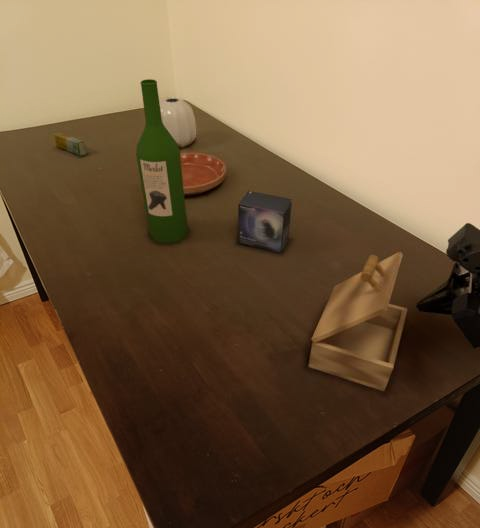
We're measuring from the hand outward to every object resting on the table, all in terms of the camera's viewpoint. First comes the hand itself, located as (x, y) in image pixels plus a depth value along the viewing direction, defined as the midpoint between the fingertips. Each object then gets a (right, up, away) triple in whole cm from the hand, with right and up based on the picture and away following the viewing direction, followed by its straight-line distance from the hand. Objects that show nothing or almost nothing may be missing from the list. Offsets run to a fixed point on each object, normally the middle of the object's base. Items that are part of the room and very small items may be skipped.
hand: (417, 307), depth 64 cm
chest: (-7, -7, +11) cm, 14 cm away
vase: (-47, +56, +76) cm, 106 cm away
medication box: (-80, +52, +72) cm, 120 cm away
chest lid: (-8, +1, +4) cm, 9 cm away
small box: (-21, +16, +35) cm, 44 cm away
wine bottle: (-44, +19, +38) cm, 60 cm away
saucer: (-42, +37, +57) cm, 80 cm away
